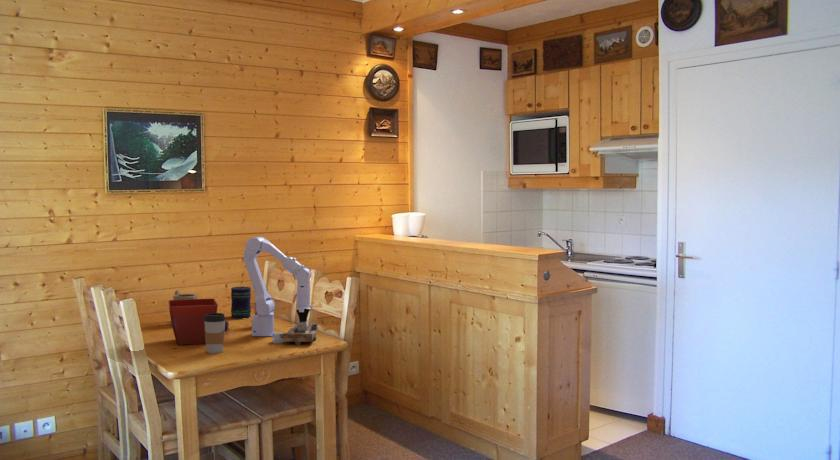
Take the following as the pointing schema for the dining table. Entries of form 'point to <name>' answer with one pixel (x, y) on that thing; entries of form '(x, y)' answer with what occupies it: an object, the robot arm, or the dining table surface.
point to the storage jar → (240, 302)
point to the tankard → (183, 297)
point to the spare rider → (278, 337)
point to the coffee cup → (214, 332)
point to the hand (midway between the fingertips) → (303, 325)
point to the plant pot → (190, 319)
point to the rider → (301, 326)
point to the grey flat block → (301, 335)
